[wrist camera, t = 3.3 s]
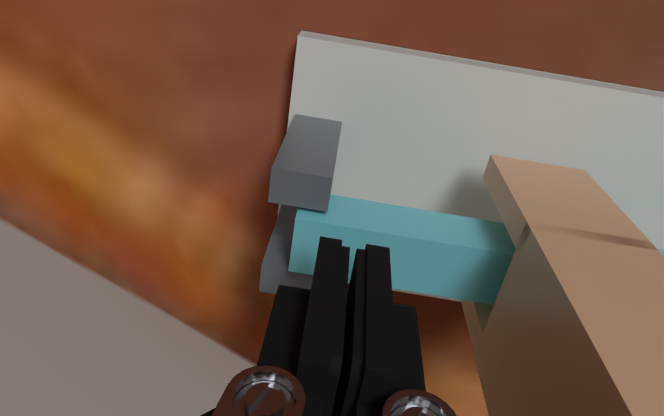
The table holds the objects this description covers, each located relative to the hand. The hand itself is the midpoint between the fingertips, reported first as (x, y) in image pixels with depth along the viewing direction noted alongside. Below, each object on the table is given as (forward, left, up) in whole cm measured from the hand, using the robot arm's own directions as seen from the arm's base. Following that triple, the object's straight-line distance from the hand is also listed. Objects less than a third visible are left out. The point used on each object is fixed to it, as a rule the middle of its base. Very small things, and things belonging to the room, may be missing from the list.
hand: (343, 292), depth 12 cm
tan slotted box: (-5, 0, -5) cm, 8 cm away
